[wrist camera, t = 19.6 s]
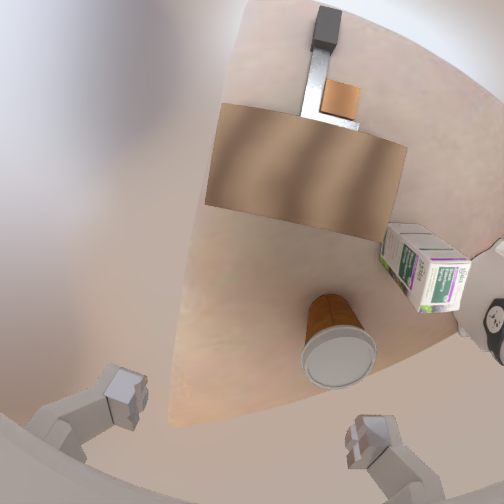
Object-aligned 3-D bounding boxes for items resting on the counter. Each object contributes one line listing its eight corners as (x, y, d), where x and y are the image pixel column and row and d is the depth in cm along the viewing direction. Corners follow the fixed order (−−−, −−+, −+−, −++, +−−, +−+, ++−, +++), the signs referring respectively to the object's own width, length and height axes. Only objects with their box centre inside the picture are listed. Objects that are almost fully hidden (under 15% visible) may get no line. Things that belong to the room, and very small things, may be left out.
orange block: (352, 93, 32) (360, 88, 28) (347, 121, 34) (354, 119, 30) (322, 85, 32) (327, 79, 29) (317, 114, 34) (321, 110, 30)
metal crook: (369, 35, 29) (380, 22, 24) (351, 139, 34) (361, 139, 30) (316, 20, 29) (320, 5, 24) (295, 125, 35) (297, 122, 30)
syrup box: (383, 221, 38) (428, 262, 24) (420, 223, 37) (474, 262, 23) (378, 260, 40) (416, 315, 26) (414, 260, 39) (460, 312, 26)
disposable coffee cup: (346, 341, 45) (359, 395, 34) (290, 331, 45) (290, 386, 34) (368, 291, 41) (392, 339, 30) (308, 277, 42) (315, 326, 30)
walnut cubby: (380, 145, 34) (407, 147, 26) (362, 221, 38) (382, 243, 30) (235, 111, 35) (221, 102, 26) (221, 190, 38) (204, 204, 30)
